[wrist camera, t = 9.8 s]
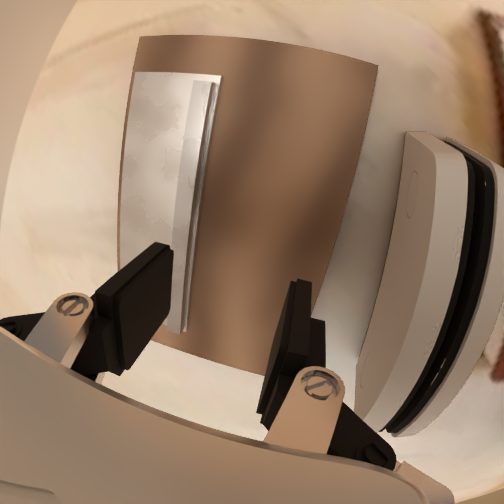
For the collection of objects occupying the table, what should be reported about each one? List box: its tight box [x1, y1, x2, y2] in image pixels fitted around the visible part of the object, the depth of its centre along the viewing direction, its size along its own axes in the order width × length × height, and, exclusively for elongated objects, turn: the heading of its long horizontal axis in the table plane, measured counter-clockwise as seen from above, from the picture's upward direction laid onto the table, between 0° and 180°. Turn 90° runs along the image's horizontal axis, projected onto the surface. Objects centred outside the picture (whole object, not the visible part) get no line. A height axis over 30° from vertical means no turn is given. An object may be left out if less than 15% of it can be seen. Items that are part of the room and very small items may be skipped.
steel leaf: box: [120, 72, 223, 335], centre depth 18 cm, size 6×17×1 cm, turn 169°
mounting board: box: [117, 35, 378, 376], centre depth 19 cm, size 14×22×1 cm, turn 169°
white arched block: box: [354, 132, 504, 437], centre depth 14 cm, size 17×5×10 cm, turn 178°
